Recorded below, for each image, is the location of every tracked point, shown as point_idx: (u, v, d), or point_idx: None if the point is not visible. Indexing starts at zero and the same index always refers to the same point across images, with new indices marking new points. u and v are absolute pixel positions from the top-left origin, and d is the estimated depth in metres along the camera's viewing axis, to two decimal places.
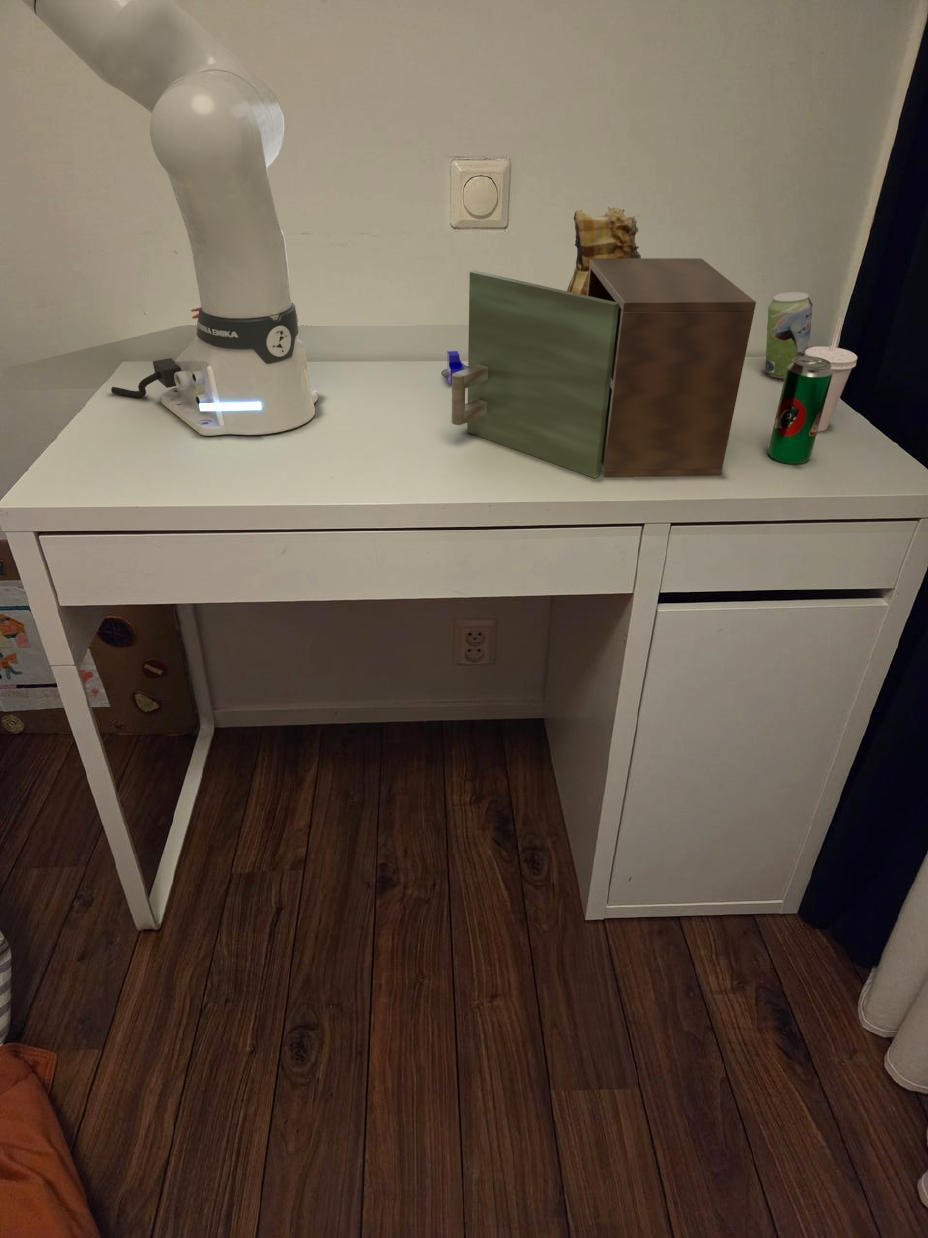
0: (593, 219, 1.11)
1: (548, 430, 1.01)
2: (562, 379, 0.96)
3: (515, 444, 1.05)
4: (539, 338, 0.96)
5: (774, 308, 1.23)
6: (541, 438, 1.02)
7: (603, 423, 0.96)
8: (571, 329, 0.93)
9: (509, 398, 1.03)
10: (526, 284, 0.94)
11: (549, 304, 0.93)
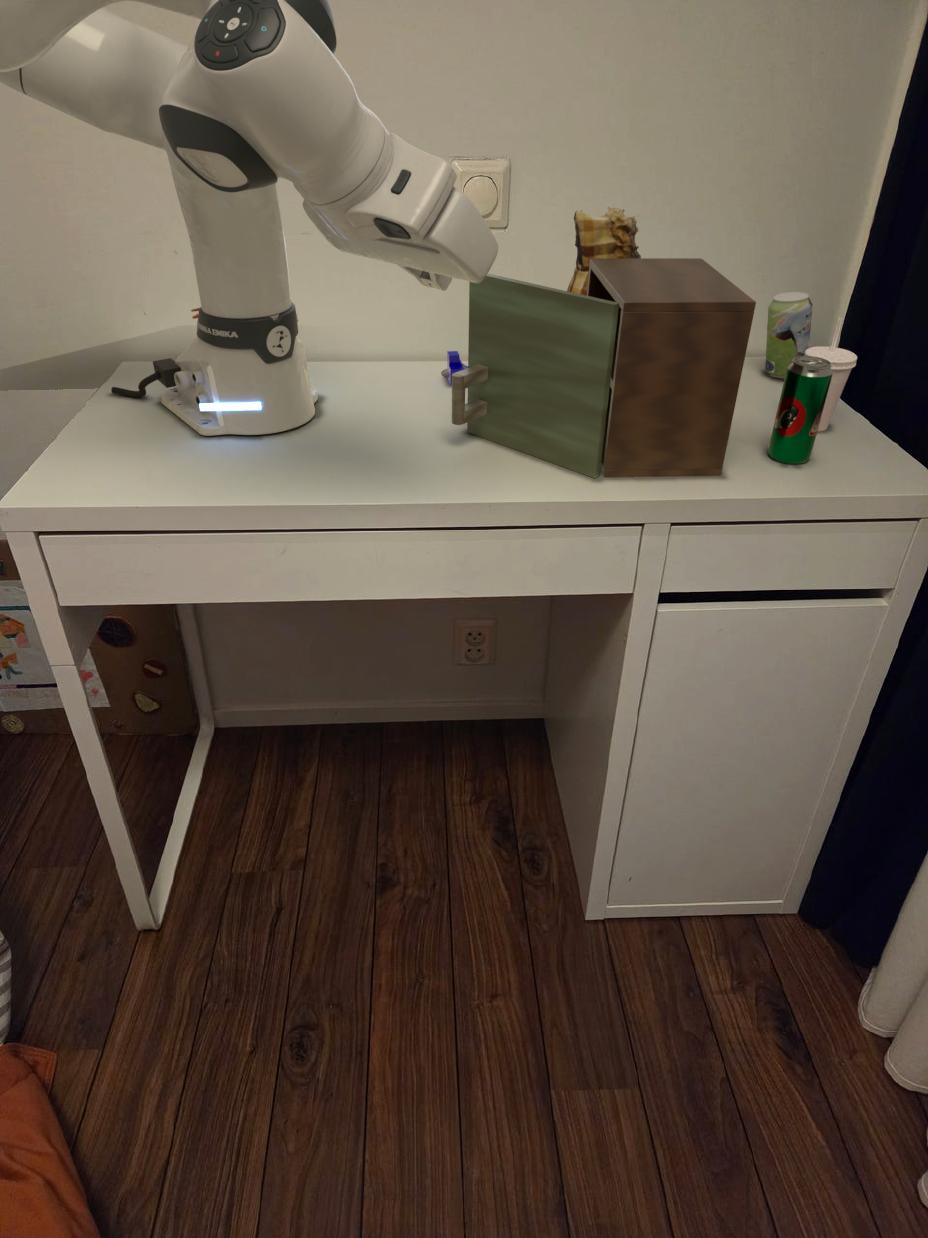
0: (593, 219, 1.11)
1: (548, 430, 1.01)
2: (562, 379, 0.96)
3: (515, 444, 1.05)
4: (539, 338, 0.96)
5: (774, 308, 1.23)
6: (541, 438, 1.02)
7: (603, 423, 0.96)
8: (571, 329, 0.93)
9: (509, 398, 1.03)
10: (526, 284, 0.94)
11: (549, 304, 0.93)
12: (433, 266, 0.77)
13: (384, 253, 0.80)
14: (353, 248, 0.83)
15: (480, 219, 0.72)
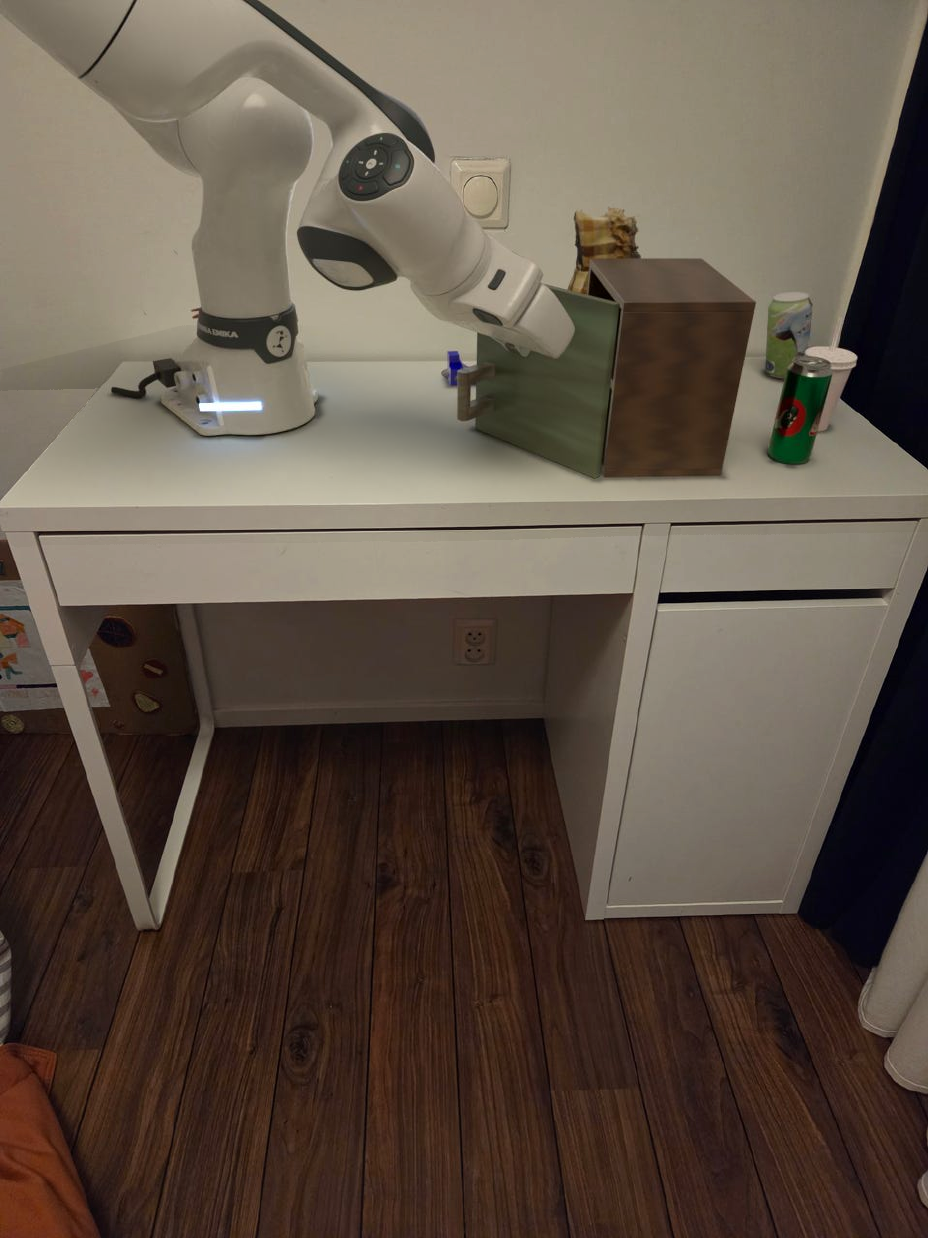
0: (593, 219, 1.11)
1: (551, 429, 1.01)
2: (564, 378, 0.96)
3: (520, 442, 1.06)
4: None
5: (774, 308, 1.23)
6: (544, 437, 1.02)
7: (603, 423, 0.96)
8: None
9: (514, 396, 1.03)
10: None
11: None
12: (518, 342, 0.91)
13: (477, 327, 0.94)
14: None
15: (560, 308, 0.86)
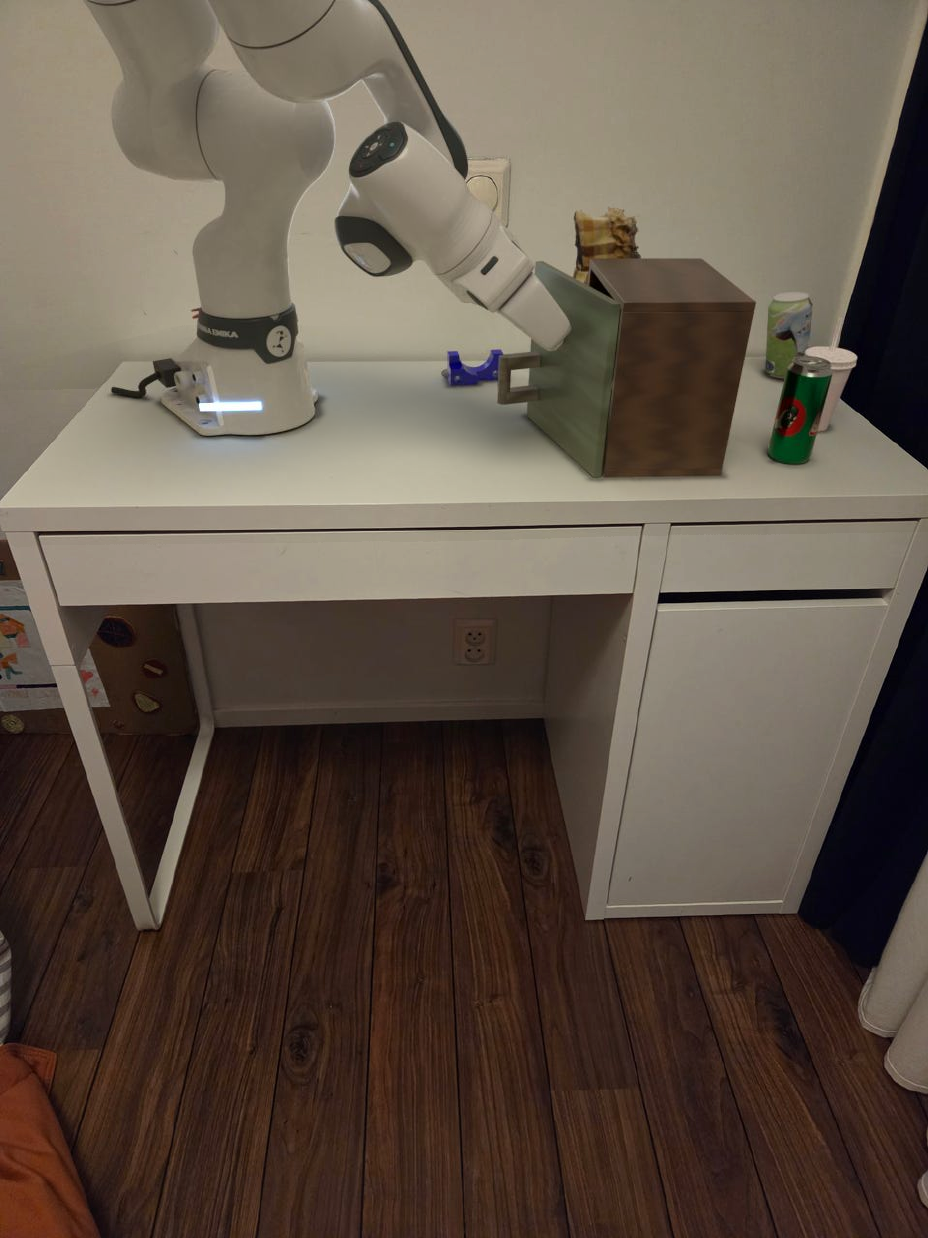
0: (593, 219, 1.11)
1: (570, 423, 1.02)
2: (580, 374, 0.98)
3: (551, 433, 1.08)
4: None
5: (774, 308, 1.23)
6: (565, 431, 1.04)
7: (603, 423, 0.96)
8: (587, 325, 0.94)
9: (550, 388, 1.06)
10: (565, 277, 0.97)
11: (576, 298, 0.95)
12: None
13: None
14: None
15: (550, 301, 0.88)
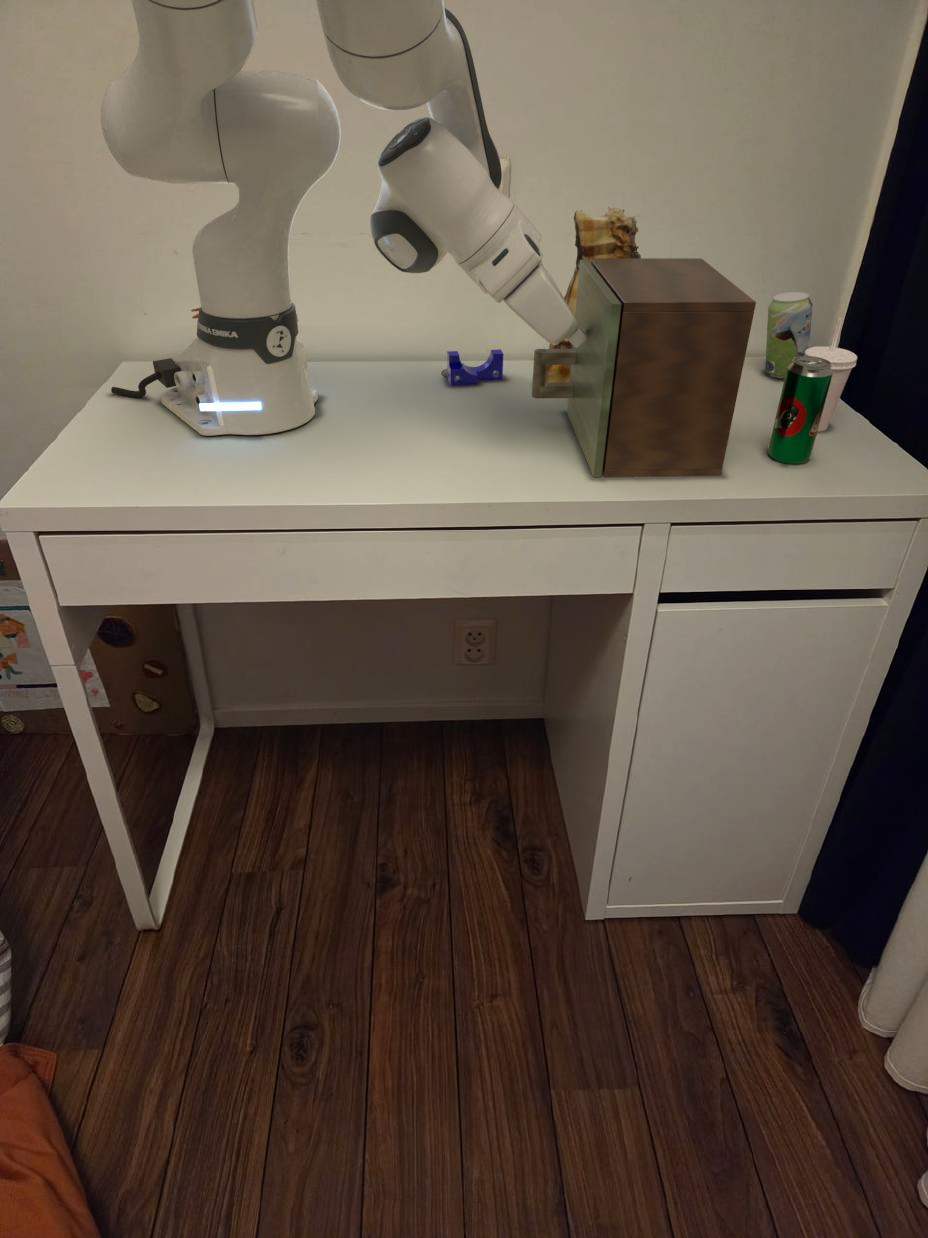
0: (593, 219, 1.11)
1: (585, 422, 1.03)
2: (593, 373, 0.98)
3: (576, 431, 1.09)
4: (590, 330, 0.99)
5: (774, 308, 1.23)
6: (583, 429, 1.04)
7: (603, 423, 0.96)
8: (599, 324, 0.94)
9: (579, 385, 1.07)
10: (593, 276, 0.98)
11: (596, 297, 0.96)
12: None
13: None
14: None
15: (553, 295, 0.89)
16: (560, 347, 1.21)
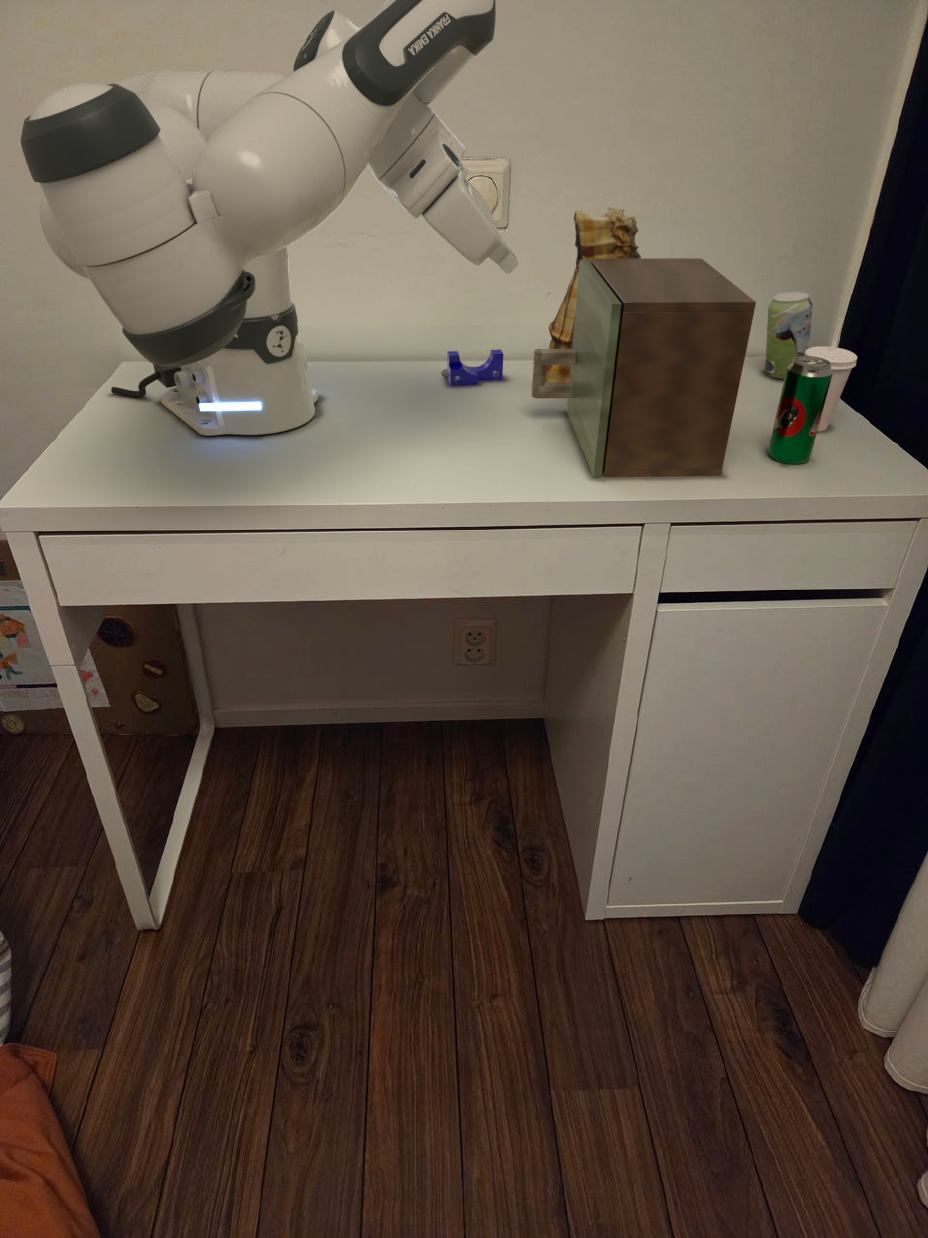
0: (593, 219, 1.11)
1: (585, 422, 1.03)
2: (593, 373, 0.98)
3: (576, 431, 1.09)
4: (590, 330, 0.99)
5: (774, 308, 1.23)
6: (583, 429, 1.04)
7: (603, 423, 0.96)
8: (599, 324, 0.94)
9: (579, 385, 1.07)
10: (593, 276, 0.98)
11: (596, 297, 0.96)
12: None
13: None
14: None
15: (472, 209, 0.84)
16: (560, 347, 1.21)
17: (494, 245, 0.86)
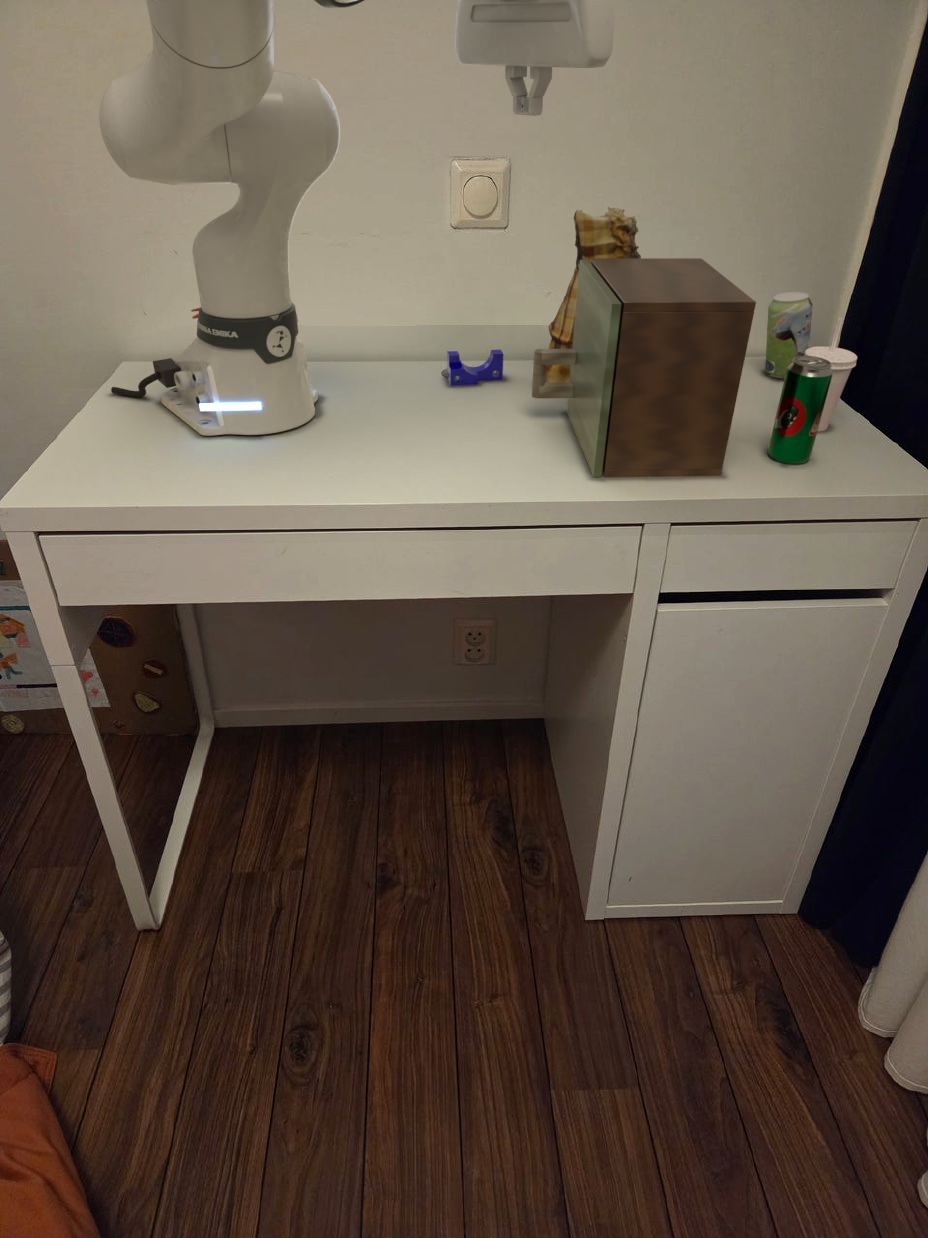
0: (593, 219, 1.11)
1: (585, 422, 1.03)
2: (593, 373, 0.98)
3: (576, 431, 1.09)
4: (590, 330, 0.99)
5: (774, 308, 1.23)
6: (583, 429, 1.04)
7: (603, 423, 0.96)
8: (599, 324, 0.94)
9: (579, 385, 1.07)
10: (593, 276, 0.98)
11: (596, 297, 0.96)
12: (551, 48, 0.88)
13: (507, 45, 0.92)
14: (477, 48, 0.95)
15: (612, 14, 0.86)
16: (560, 347, 1.21)
17: (604, 61, 0.87)
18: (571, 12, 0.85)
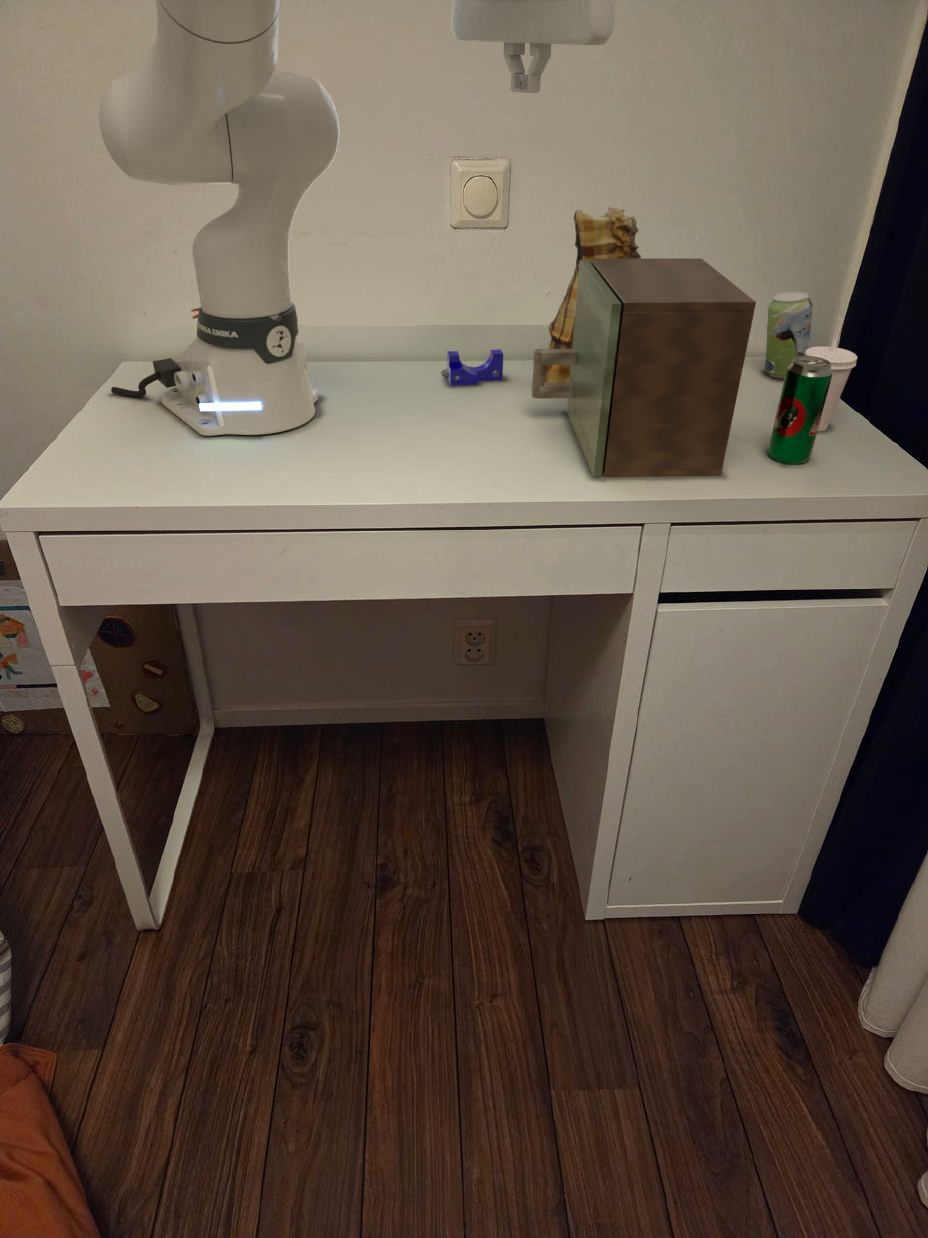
0: (593, 219, 1.11)
1: (585, 422, 1.03)
2: (593, 373, 0.98)
3: (576, 431, 1.09)
4: (590, 330, 0.99)
5: (774, 308, 1.23)
6: (583, 429, 1.04)
7: (603, 423, 0.96)
8: (599, 324, 0.94)
9: (579, 385, 1.07)
10: (593, 276, 0.98)
11: (596, 297, 0.96)
12: (553, 25, 0.89)
13: (507, 22, 0.93)
14: (475, 25, 0.95)
15: None
16: (560, 347, 1.21)
17: (606, 39, 0.89)
18: None
